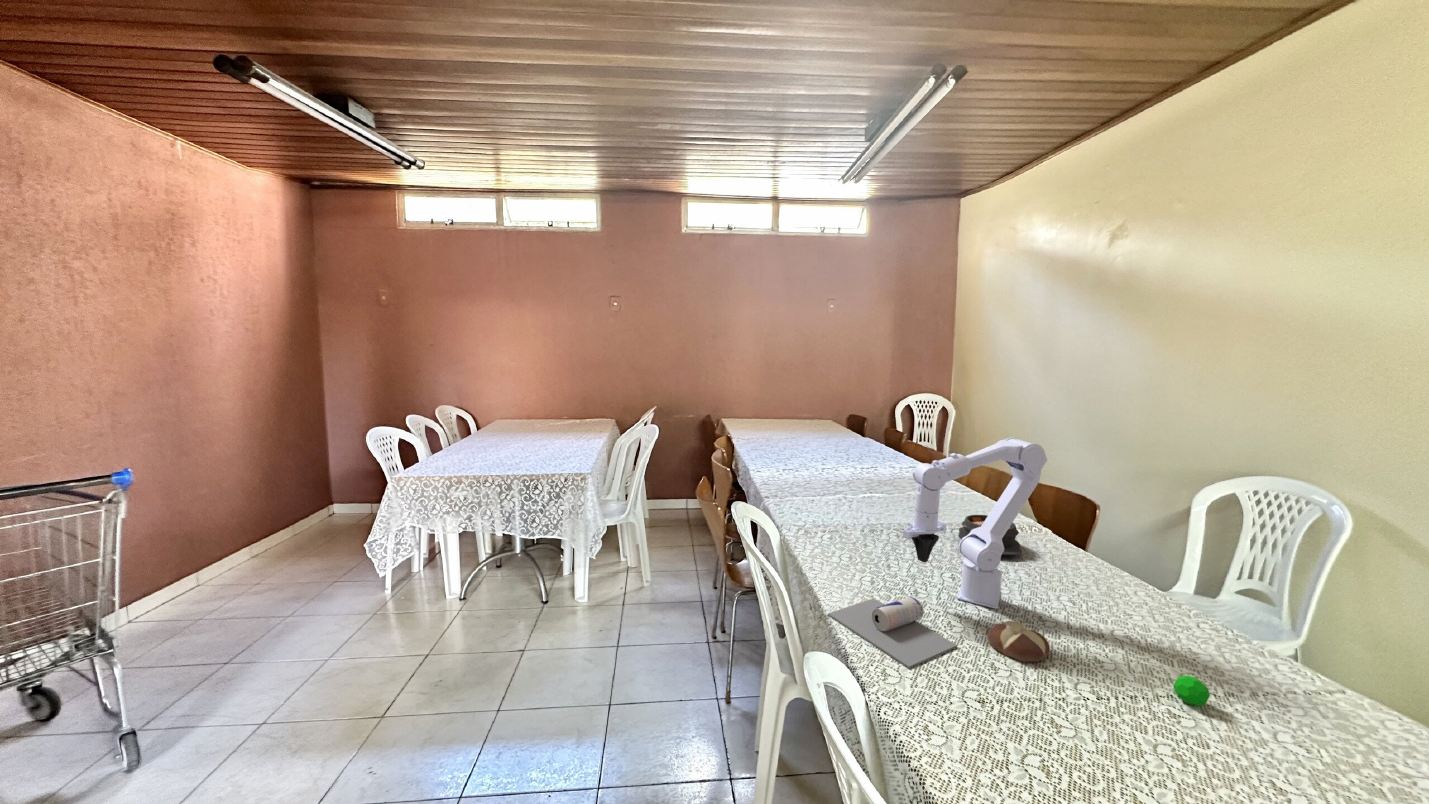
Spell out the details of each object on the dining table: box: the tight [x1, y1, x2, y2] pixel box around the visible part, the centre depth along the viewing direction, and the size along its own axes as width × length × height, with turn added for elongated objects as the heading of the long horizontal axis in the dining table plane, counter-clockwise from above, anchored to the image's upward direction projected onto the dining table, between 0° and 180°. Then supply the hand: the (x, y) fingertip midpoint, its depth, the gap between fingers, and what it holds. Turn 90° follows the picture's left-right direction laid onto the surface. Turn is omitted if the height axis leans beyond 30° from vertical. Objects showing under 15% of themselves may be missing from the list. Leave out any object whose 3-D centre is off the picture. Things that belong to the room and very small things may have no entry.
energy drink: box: [872, 596, 925, 631], centre depth 122 cm, size 5×5×12 cm
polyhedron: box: [1173, 675, 1211, 707], centre depth 97 cm, size 5×5×5 cm
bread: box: [987, 620, 1051, 663], centre depth 114 cm, size 11×11×5 cm
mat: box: [827, 598, 958, 670], centre depth 120 cm, size 16×24×1 cm, turn 30°
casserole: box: [958, 514, 1023, 556], centre depth 174 cm, size 25×19×8 cm
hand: (922, 560), depth 135 cm, fingers closed
